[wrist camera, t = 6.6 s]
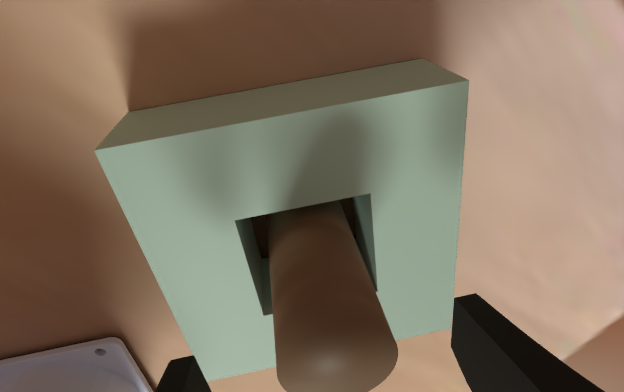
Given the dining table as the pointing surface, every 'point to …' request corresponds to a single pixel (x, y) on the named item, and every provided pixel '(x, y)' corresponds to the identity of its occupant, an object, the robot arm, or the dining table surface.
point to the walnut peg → (324, 305)
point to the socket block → (295, 196)
